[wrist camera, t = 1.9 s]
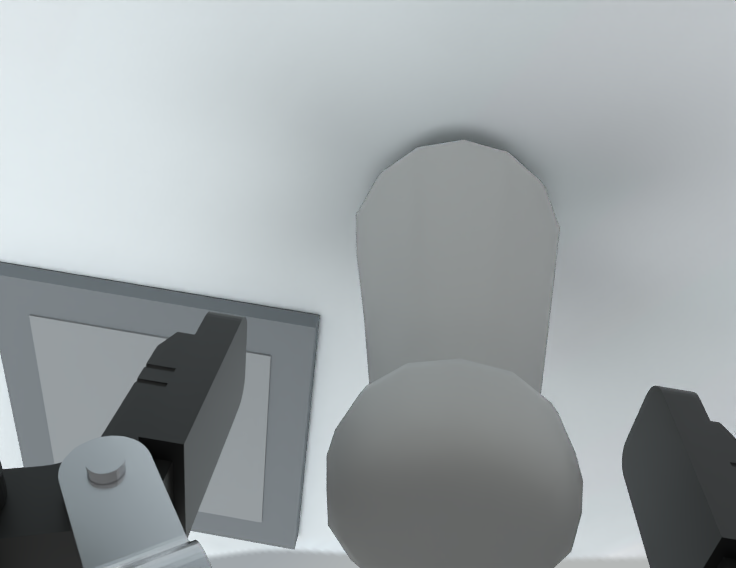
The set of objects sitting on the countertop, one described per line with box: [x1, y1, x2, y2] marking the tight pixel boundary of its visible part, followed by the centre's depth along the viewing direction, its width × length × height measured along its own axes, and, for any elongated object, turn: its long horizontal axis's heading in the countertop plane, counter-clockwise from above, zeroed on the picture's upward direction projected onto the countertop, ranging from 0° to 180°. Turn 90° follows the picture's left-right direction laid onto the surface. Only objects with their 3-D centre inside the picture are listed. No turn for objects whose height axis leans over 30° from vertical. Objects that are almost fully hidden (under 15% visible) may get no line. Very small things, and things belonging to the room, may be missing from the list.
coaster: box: [0, 262, 320, 549], centre depth 27 cm, size 12×12×1 cm
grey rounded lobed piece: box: [327, 140, 583, 568], centre depth 16 cm, size 6×6×13 cm
